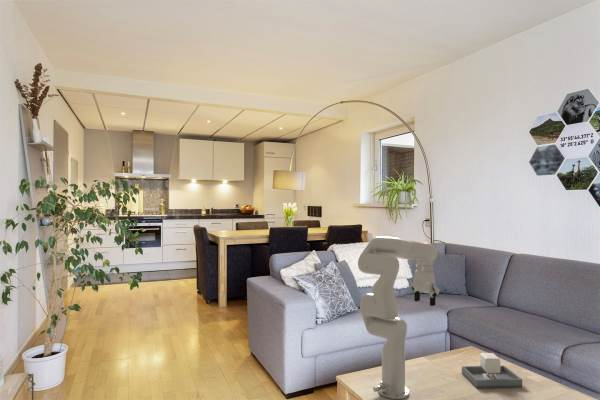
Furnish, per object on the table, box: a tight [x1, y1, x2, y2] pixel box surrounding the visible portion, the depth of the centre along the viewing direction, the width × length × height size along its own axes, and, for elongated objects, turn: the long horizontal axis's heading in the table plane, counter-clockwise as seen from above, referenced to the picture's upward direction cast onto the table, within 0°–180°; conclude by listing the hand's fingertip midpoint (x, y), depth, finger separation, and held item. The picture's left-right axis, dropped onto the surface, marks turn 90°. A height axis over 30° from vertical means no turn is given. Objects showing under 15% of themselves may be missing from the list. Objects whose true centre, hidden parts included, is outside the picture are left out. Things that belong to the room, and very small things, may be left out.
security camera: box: [479, 352, 501, 379], centre depth 172 cm, size 6×7×10 cm
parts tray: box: [461, 365, 523, 389], centre depth 172 cm, size 20×14×4 cm
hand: (424, 303), depth 188 cm, fingers open, 9 cm apart
